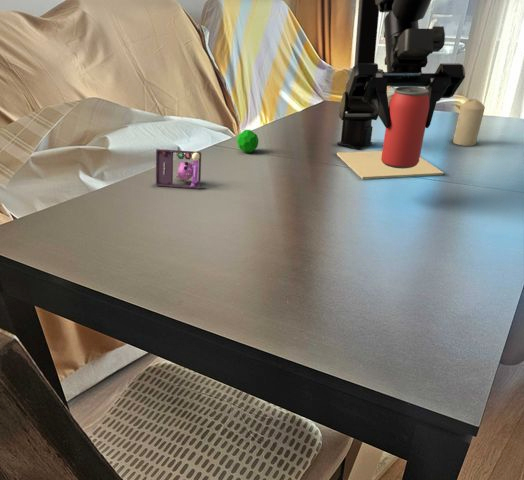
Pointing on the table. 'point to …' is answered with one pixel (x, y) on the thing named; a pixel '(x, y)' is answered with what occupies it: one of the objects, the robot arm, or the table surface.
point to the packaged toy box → (185, 169)
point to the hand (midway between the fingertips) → (407, 126)
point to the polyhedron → (247, 141)
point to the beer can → (405, 127)
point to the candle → (469, 122)
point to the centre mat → (384, 166)
